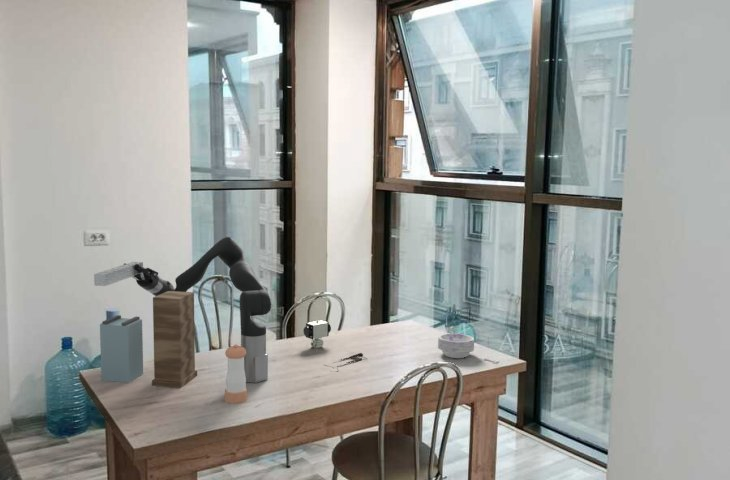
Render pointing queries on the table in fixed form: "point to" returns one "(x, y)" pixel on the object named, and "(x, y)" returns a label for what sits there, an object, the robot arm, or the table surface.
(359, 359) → the hacksaw
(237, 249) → the robot arm
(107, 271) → the steel bar
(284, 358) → the table surface
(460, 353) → the grey stone bowl
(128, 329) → the blue grey angular block
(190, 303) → the tall stand
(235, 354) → the pepper shaker
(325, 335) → the pneumatic valve
